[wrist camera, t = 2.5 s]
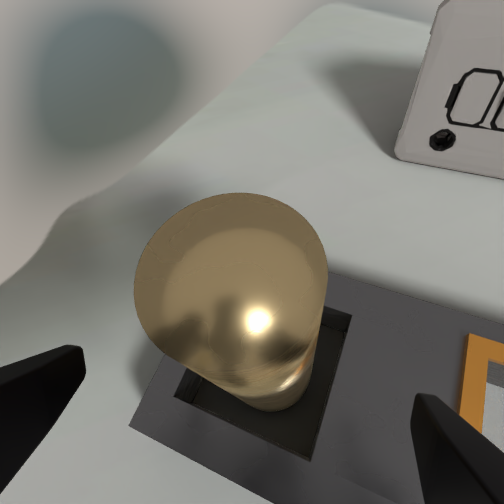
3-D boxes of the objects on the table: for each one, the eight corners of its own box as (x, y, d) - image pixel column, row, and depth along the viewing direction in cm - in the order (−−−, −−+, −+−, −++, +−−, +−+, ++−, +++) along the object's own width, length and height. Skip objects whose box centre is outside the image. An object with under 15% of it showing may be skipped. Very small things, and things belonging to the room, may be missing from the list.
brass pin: (325, 352, 18) (362, 236, 7) (285, 430, 16) (258, 420, 6) (257, 312, 19) (208, 170, 9) (214, 380, 18) (94, 303, 7)
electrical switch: (389, 161, 24) (437, 11, 16) (400, 119, 26) (447, -28, 19) (541, 190, 21) (686, 27, 13) (537, 141, 24) (658, -21, 16)
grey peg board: (645, 397, 15) (726, 388, 12) (676, 699, 11) (808, 792, 8) (232, 264, 21) (222, 237, 18) (154, 427, 17) (125, 425, 14)
